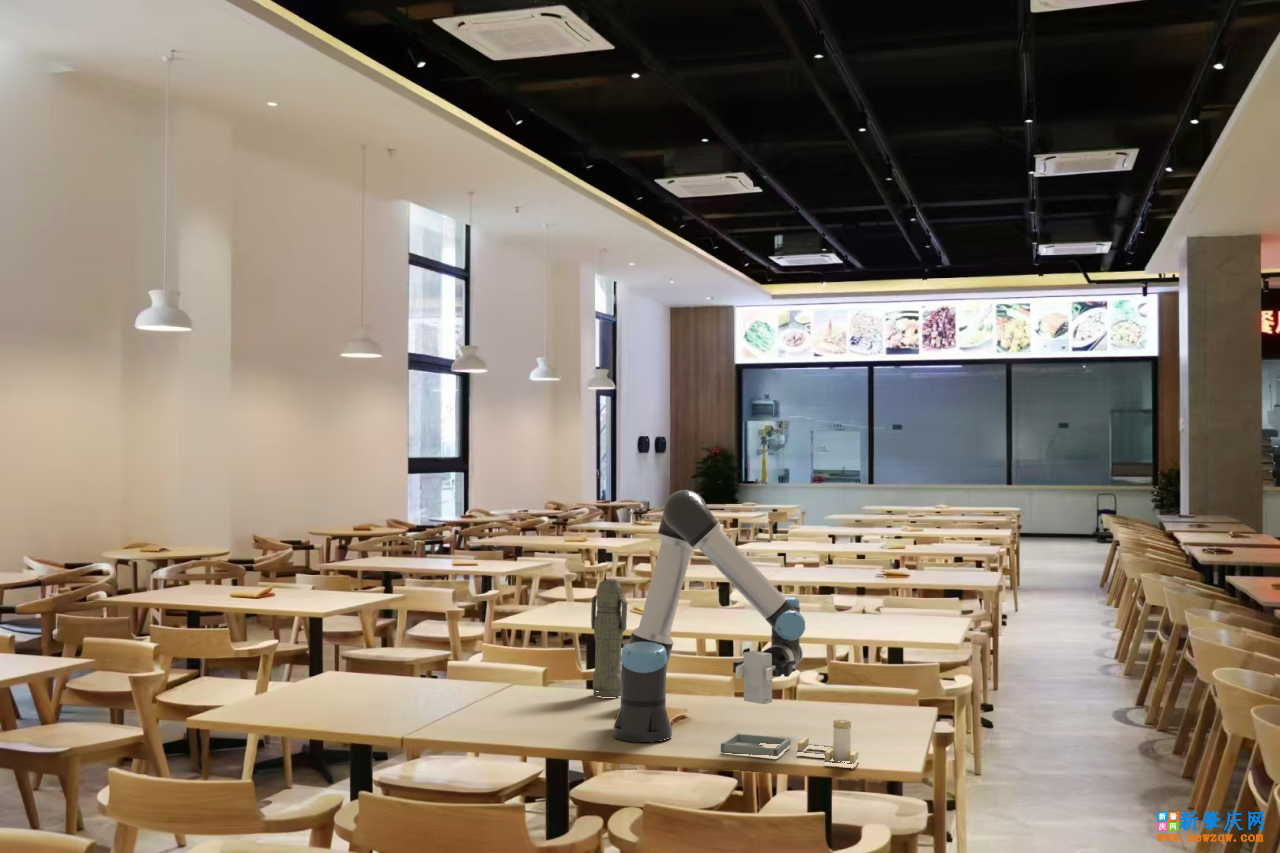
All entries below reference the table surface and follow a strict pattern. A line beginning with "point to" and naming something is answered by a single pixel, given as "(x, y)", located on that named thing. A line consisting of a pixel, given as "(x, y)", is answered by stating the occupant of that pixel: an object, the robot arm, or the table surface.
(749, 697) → the skincare box
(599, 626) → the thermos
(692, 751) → the table surface
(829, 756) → the cream flat frame
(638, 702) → the robot arm
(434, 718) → the table surface
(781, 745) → the tray
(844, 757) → the fuse
